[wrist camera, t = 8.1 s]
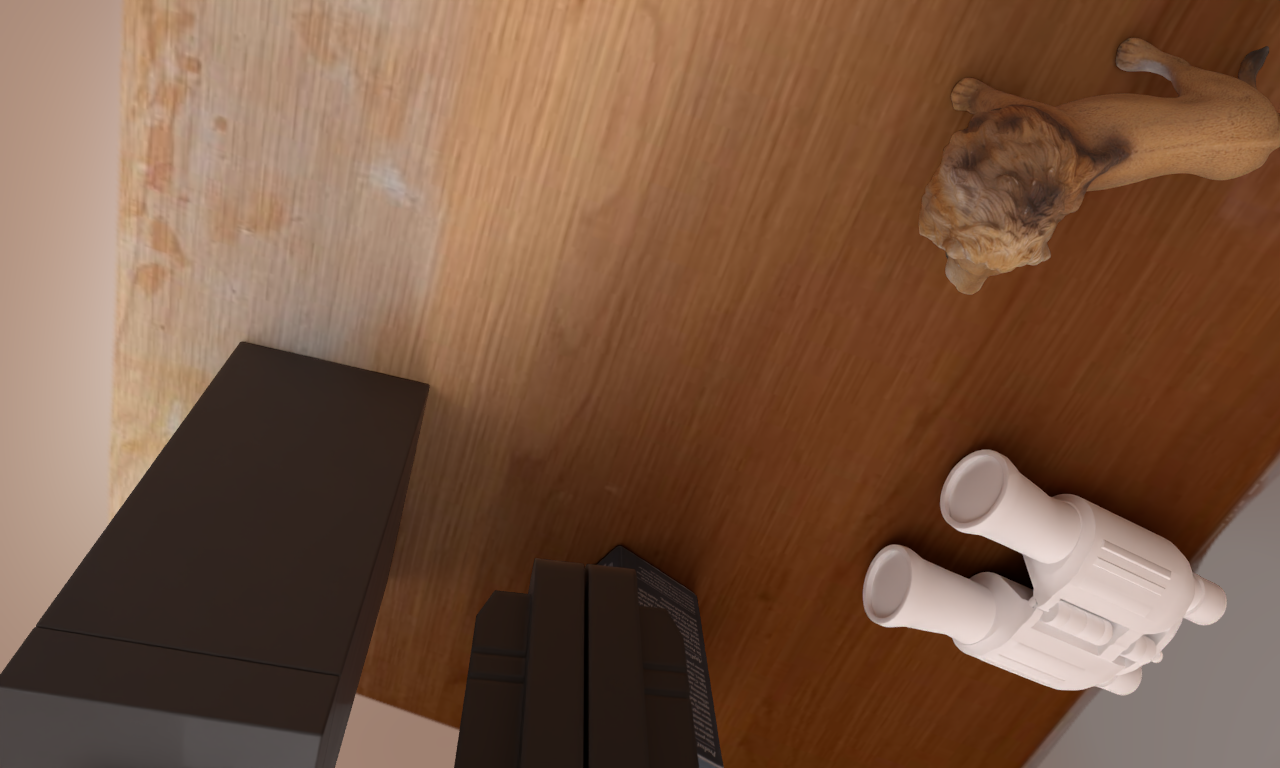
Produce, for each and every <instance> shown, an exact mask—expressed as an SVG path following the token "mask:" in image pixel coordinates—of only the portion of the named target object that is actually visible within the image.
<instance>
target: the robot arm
mask: <svg viewBox="0 0 1280 768" xmlns="http://www.w3.org/2000/svg"><path fill="white" fill-rule="evenodd" d="M454 768H699V762H698V754H697V746H696V738H695V729H694V721H693V713H692V704H691V699H690V688H689V679H688V674H687V663H686V654H685V646H684V638H683V635H682V634H681V632H680V630H679V629H678V627H677V625H676V624H675V622H674V620H673V619H672V617H671V615H670V614H669V612H668V610H667V609H665V608H656V607H647V606H639V602H638V587H637V575H636V571H635V569H628V568H619V567H610V566H602V565H593V564H587V565H586V567H585V570H584V564H582V563H573V562H564V561H556V560H547V559H538V558H535V560H534V565H533V570H532V575H531V581H530V586H529V592H528V594H524V593H515V592H505V591H496V590H495V591H494V592H493V594H492V595H491V597H490V598H489V599H488V601H487V602H486V603H485V605H484V606H483V608H482V609H481V610H480V612H479V613H478V614H477V616H476V622H475V629H474V636H473V643H472V650H471V657H470V663H469V670H468V677H467V684H466V691H465V697H464V704H463V711H462V718H461V725H460V732H459V739H458V745H457V752H456V759H455V766H454Z"/></svg>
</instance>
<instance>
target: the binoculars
mask: <svg viewBox="0 0 1280 768" xmlns="http://www.w3.org/2000/svg"><path fill="white" fill-rule="evenodd" d="M940 507H941V512H942V515H943V518H944V519H945V520H946V522H947V523H948V524H950V525H951V526H952V527H954V528H955V529H957V530H958V531H961V532H963V533H968V534H975V535H981V536H984V537H986V538H988V539H991V540H993V541H995V542H998V543H1000V544H1002V545H1004V546H1006V547H1009V548H1011V549H1013V550H1015V551H1017V552H1019V553H1021V554H1022V555H1023V558H1024V561H1025V564H1026V567H1027V570H1028V573H1029V576H1030V579H1031V582H1032V585H1033V588H1034V589H1033V590H1032V589H1030V588H1028V587H1025V586H1023V585H1021V584H1018V583H1016V582H1014V581H1012V580H1009V579H1007V578H1005V577H1002V576H1000V575H998V574H995V573H992V572H982V573H979V574H976V575H974V576H973V577H971V578H969V579H968V578H965V577H963V576H961V575H958V574H956V573H953V572H951V571H949V570H946V569H944V568H942V567H940V566H937V565H935V564H933V563H931V562H929V561H926V560H924V559H922V558H921V557H920V556H919V555H918V554H917V553H915V552H914V551H913V550H911V549H910V548H908V547H905V546H901V545H895V544H893V545H889V546H887V547H885V548H883V549H882V550H881V551H880V552H879V553H878V554H877V555H876V556H875V558H874V559H873V561H872V562H871V564H870V566H869V568H868V571H867V574H866V577H865V581H864V586H863V604H864V608H865V611H866V613H867V616H868V617H869V618H870V619H871V620H872V621H873V622H875V623H877V624H879V625H881V626H885V627H901V626H905V627H910V628H915V629H920V630H925V631H930V632H935V633H941V634H946V635H948V636H950V637H952V639H953V641H954V643H955V645H956V646H957V647H958V648H959V649H960V650H961V651H962V652H964V653H966V654H968V655H971V656H973V657H976V658H978V659H980V660H982V661H984V662H987V663H989V664H992V665H994V666H997V667H999V668H1002V669H1005V670H1007V671H1010V672H1012V673H1015V674H1017V675H1020V676H1022V677H1025V678H1027V679H1030V680H1032V681H1035V682H1037V683H1040V684H1042V685H1045V686H1049V687H1051V688H1054V689H1057V690H1082V689H1086V688H1089V687H1092V686H1097V687H1099V688H1103V689H1105V690H1108V691H1110V692H1113V693H1116V694H1118V695H1127V694H1130V693H1132V692H1133V691H1135V690H1136V689H1137V687H1138V686H1139V684H1140V682H1141V678H1142V668H1141V666H1142V665H1144V664H1147V663H1149V662H1151V661H1152V662H1154V663H1158V662H1160V661H1161V660H1162V657H1163V654H1162V651H1161V650H1162V649H1163V648H1164V647H1165V646H1166V645H1167V644H1168V643H1169V641H1170V640H1171V639H1172V638H1173V637H1174V635H1175V633H1176V632H1177V630H1178V628H1179V627H1180V625H1181V623H1182V619H1183V618H1185V619H1187V620H1190V621H1192V622H1194V623H1196V624H1199V625H1209V624H1212V623H1215V622H1216V621H1217V620H1219V619H1220V618H1221V617H1222V616H1223V614H1224V612H1225V610H1226V606H1227V599H1226V595H1225V592H1224V591H1223V589H1222V588H1221V587H1220V586H1218V585H1216V584H1215V583H1213V582H1211V581H1208V580H1206V579H1204V578H1202V577H1201V576H1199V575H1197V574H1195V573H1193V572H1192V569H1191V567H1190V564H1189V562H1188V560H1187V559H1186V557H1185V556H1184V555H1183V554H1182V553H1181V552H1180V551H1179V549H1178V548H1177V547H1176V546H1175V545H1174V544H1173V543H1172V542H1170V541H1169V540H1167V539H1165V538H1163V537H1161V536H1159V535H1157V534H1155V533H1153V532H1151V531H1149V530H1147V529H1145V528H1143V527H1141V526H1139V525H1137V524H1135V523H1132V522H1130V521H1128V520H1126V519H1124V518H1122V517H1120V516H1118V515H1116V514H1114V513H1112V512H1110V511H1108V510H1106V509H1104V508H1102V507H1100V506H1098V505H1095V504H1093V503H1091V502H1089V501H1087V500H1085V499H1083V498H1081V497H1079V496H1076V495H1073V494H1060V495H1056V496H1053V497H1049V496H1048V495H1047V494H1046V493H1045V492H1044V491H1042V490H1041V489H1040V488H1039V487H1038V486H1036V485H1035V484H1034V483H1032V482H1031V481H1030V480H1029V479H1027V478H1026V477H1025V476H1023V475H1022V474H1021V473H1020V472H1019V471H1018V470H1017V468H1016V467H1015V466H1014V465H1013V463H1012V462H1011V461H1010V460H1009V459H1008V458H1007V457H1006V456H1004V455H1002V454H1000V453H998V452H996V451H993V450H979V451H975V452H973V453H971V454H969V455H967V456H966V457H964V458H963V459H962V460H961V461H959V462H958V463H957V464H956V466H955V467H954V468H953V469H952V470H951V472H950V473H949V475H948V477H947V479H946V481H945V483H944V485H943V488H942V492H941V497H940Z"/></svg>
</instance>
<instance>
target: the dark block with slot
mask: <svg viewBox="0 0 1280 768" xmlns="http://www.w3.org/2000/svg"><path fill="white" fill-rule="evenodd" d="M428 392H429V385H428V384H424V383H419V382H415V381H410V380H406V379H402V378H397V377H393V376H389V375H384V374H380V373H376V372H371V371H367V370H362V369H358V368H354V367H349V366H345V365H341V364H336V363H332V362H328V361H323V360H319V359H315V358H310V357H306V356H301V355H297V354H293V353H288V352H284V351H280V350H275V349H271V348H267V347H262V346H258V345H253V344H249V343H245V342H240V343H239V345H238V346H237V347H236V349H235V350H234V352H233V353H232V354H231V356H230V357H229V358H228V360H227V361H226V363H225V364H224V365H223V367H222V368H221V370H220V371H219V372H218V374H217V375H216V376H215V378H214V379H213V381H212V382H211V383H210V385H209V386H208V388H207V389H206V390H205V392H204V393H203V394H202V396H201V397H200V399H199V400H198V401H197V403H196V404H195V406H194V407H193V408H192V410H191V411H190V413H189V414H188V415H187V417H186V418H185V419H184V421H183V422H182V424H181V425H180V426H179V428H178V429H177V431H176V432H175V433H174V435H173V436H172V437H171V439H170V440H169V442H168V443H167V444H166V446H165V447H164V449H163V450H162V451H161V453H160V454H159V455H158V457H157V458H156V460H155V461H154V462H153V464H152V465H151V467H150V468H149V469H148V471H147V472H146V473H145V475H144V476H143V478H142V479H141V480H140V482H139V483H138V485H137V486H136V487H135V489H134V490H133V491H132V493H131V494H130V496H129V497H128V498H127V500H126V501H125V503H124V504H123V505H122V507H121V508H120V509H119V511H118V512H117V514H116V515H115V516H114V518H113V519H112V521H111V522H110V523H109V525H108V526H107V527H106V529H105V530H104V532H103V533H102V534H101V536H100V537H99V539H98V540H97V541H96V543H95V544H94V546H93V547H92V548H91V550H90V551H89V553H88V554H87V555H86V557H85V558H84V559H83V561H82V562H81V564H80V565H79V566H78V568H77V569H76V570H75V572H74V573H73V575H72V576H71V577H70V579H69V580H68V582H67V583H66V584H65V586H64V587H63V588H62V590H61V591H60V593H59V594H58V595H57V597H56V598H55V600H54V601H53V602H52V604H51V605H50V607H49V608H48V609H47V611H46V612H45V614H44V615H43V616H42V618H41V619H40V620H39V622H38V623H37V625H36V627H35V628H34V629H33V630H32V631H31V633H30V634H29V635H28V637H27V638H26V640H25V641H24V642H23V644H22V645H21V647H20V648H19V649H18V651H17V652H16V653H15V655H14V656H13V658H12V659H11V660H10V662H9V663H8V664H7V666H6V667H5V669H4V670H3V671H2V673H1V674H0V768H335V765H336V761H337V758H338V754H339V751H340V747H341V743H342V740H343V737H344V733H345V729H346V726H347V722H348V718H349V715H350V711H351V708H352V704H353V701H354V697H355V694H356V690H357V687H358V683H359V680H360V676H361V673H362V669H363V666H364V662H365V658H366V655H367V651H368V648H369V644H370V641H371V637H372V634H373V630H374V626H375V623H376V619H377V616H378V612H379V609H380V605H381V602H382V598H383V595H384V591H385V587H386V584H387V580H388V576H389V571H390V566H391V562H392V557H393V553H394V548H395V543H396V539H397V534H398V530H399V525H400V520H401V516H402V511H403V507H404V502H405V498H406V493H407V488H408V484H409V479H410V475H411V470H412V465H413V461H414V456H415V452H416V447H417V442H418V438H419V433H420V429H421V424H422V419H423V415H424V410H425V406H426V401H427V397H428Z"/></svg>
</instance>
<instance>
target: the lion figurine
mask: <svg viewBox="0 0 1280 768" xmlns="http://www.w3.org/2000/svg"><path fill="white" fill-rule="evenodd" d="M1268 53H1269V47H1268V46H1266V47H1264V48H1262V49H1259V50H1256V51H1253V52H1250V53H1249V54H1248V55H1246V57H1245V58H1244V60H1243V61H1242V63H1241V67H1240V70H1239V73H1238V79H1237V78H1234V77H1232V76H1229V75H1225V74H1221V73H1217V72H1213V71H1208V70H1203V69H1200V68H1197V67H1192V66H1191V65H1190V64H1189V63H1188V62H1187V61H1186V60H1184V59H1182V58H1179V57H1175V56H1173V55H1170V54H1167V53H1164V52H1162V51H1161V50H1159V49H1157V48H1156V47H1154V46H1153V45H1152V44H1150V43H1148V42H1147V41H1145V40H1142V39H1140V38H1129V39H1127V40H1126V41H1124V42H1123V43H1122V44H1121V45H1120V46H1119V48H1118V50H1117V56H1116V65H1117V66H1118V67H1119V68H1120V69H1122V70H1125V71H1148V72H1153V73H1157V74H1159V75H1162V76H1164V77H1165V78H1166V79H1168V80H1170V81H1171V82H1172V84H1173V87H1174V89H1175V90H1176V92H1177V93H1178V94H1179V96H1178V97H1177V98H1163V97H1156V96H1150V95H1141V94H1128V93H1122V94H1108V95H1099V96H1093V97H1087V98H1083V99H1079V100H1075V101H1072V102H1069V103H1065V104H1062V105H1059V106H1056V107H1053V106H1050V105H1047V104H1045V103H1041V102H1037V101H1033V100H1029V99H1025V98H1021V97H1018V96H1015V95H1012V94H1008V93H1005V92H1001V91H998V90H996V89H994V88H992V87H990V86H988V85H986V84H985V83H983V82H981V81H979V80H977V79H974V78H964V79H962V80H961V81H960V82H959V83H958V84H956V86H955V87H954V89H953V91H952V94H951V100H952V103H953V108H954V109H955V110H959V111H968V112H970V113H971V114H975V115H974V116H973V117H972V118H971V120H970V122H969V125H968V128H966V129H964V130H959V131H957V132H956V133H954V134H953V135H952V137H951V140H950V142H949V145H947V146H945V147H944V149H943V159H942V162H941V165H940V166H939V167H938V168H937V170H936V172H935V174H934V176H933V177H932V179H931V181H930V183H929V184H928V185H927V186H926V189H925V190H926V193H925V194H924V195H923V197H922V207H921V210H920V214H919V233H920V235H923V236H925V237H927V238H929V239H930V240H932V242H933V243H934V244H935V245H937V246H938V247H939V248H942V249H944V250H945V251H946V257H947V259H948V260H947V264H946V269H945V271H946V276H947V277H948V279H949V280H950V281H951V282H952V283H953V284H954V285H955V286H956V288H957V290H958V291H959V292H961V293H964V294H974V293H975V292H977V291H979V290H980V288H981V287H982V285H983V283H984V281H985V280H986V279H987V277H988V276H993V275H998V274H1000V273H1005V272H1010V271H1012V270H1013V269H1015V267H1021V266H1024V265H1026V264H1028V265H1037V264H1039V263H1040V262H1041V261H1045V260H1047V259H1049V258H1050V257H1051V254H1050V250H1049V248H1048V246H1047V243H1046V242H1047V241H1048V240H1049V239H1050V238H1051V236H1052V234H1053V232H1054V230H1055V228H1056V226H1057V223H1058V222H1059V221H1061V220H1062V219H1063V218H1064V217H1065V215H1067V214H1069V213H1073V212H1075V211H1077V210H1078V209H1079V207H1080V205H1081V203H1082V201H1083V198H1084V194H1085V193H1086V191H1095V190H1104V189H1109V188H1114V187H1119V186H1123V185H1128V184H1132V183H1136V182H1139V181H1142V180H1146V179H1149V178H1153V177H1157V176H1162V175H1168V174H1176V173H1188V174H1195V175H1198V176H1201V177H1204V178H1207V179H1212V180H1227V179H1233V178H1236V177H1240V176H1242V175H1245V174H1247V173H1249V172H1252V171H1254V170H1256V169H1258V168H1259V167H1261V166H1262V165H1263V164H1264V163H1265V161H1266V160H1267V158H1268V156H1269V154H1270V153H1271V152H1272V151H1274V150H1275V149H1277V148H1279V147H1280V114H1279V113H1277V112H1276V110H1275V108H1274V107H1273V105H1272V104H1271V102H1270V101H1269V100H1268V99H1267V97H1265V96H1264V95H1263V94H1261V93H1260V92H1259V91H1258V90H1257V88H1256V75H1257V73H1258V71H1259V70H1260V69H1261V67H1262V66H1263V64H1264V61H1265V59H1266V57H1267V55H1268Z"/></svg>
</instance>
